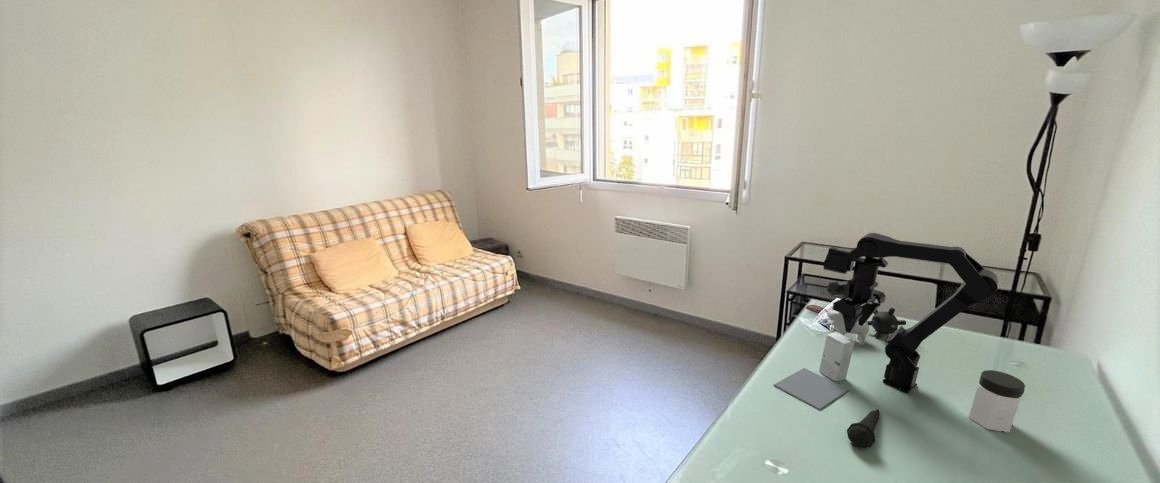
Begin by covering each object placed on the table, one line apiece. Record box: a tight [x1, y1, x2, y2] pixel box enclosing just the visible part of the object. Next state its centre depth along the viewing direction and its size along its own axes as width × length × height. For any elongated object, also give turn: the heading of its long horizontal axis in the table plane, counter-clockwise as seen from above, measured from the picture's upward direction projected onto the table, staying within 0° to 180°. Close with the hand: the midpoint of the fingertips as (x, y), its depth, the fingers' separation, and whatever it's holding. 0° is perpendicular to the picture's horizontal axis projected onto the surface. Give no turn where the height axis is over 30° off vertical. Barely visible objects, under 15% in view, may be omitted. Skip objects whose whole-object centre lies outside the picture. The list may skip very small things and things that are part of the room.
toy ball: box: [867, 307, 907, 339], centre depth 161 cm, size 11×11×12 cm
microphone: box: [846, 408, 880, 449], centre depth 115 cm, size 6×6×20 cm
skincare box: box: [818, 331, 856, 382], centre depth 136 cm, size 6×4×12 cm
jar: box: [968, 369, 1026, 433], centre depth 117 cm, size 9×8×12 cm
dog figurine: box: [826, 309, 870, 345], centre depth 158 cm, size 5×13×11 cm, turn 75°
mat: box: [773, 367, 850, 411], centre depth 131 cm, size 13×15×1 cm
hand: (854, 328), depth 139 cm, fingers open, 7 cm apart
